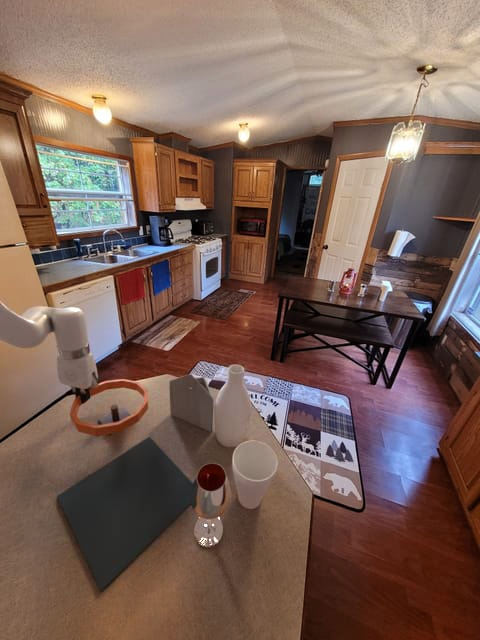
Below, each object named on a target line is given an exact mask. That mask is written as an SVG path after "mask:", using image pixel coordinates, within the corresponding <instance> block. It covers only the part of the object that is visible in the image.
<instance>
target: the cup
mask: <svg viewBox="0 0 480 640" xmlns="http://www.w3.org/2000/svg"><path fill="white" fill-rule="evenodd" d="M231 463H232V465H231V466H232V467H231V468H232V473H233V479H234V482H235V485H236V490H237V499H238V502H239V504H240V505H241V506H242V507H243V508H245V509H248V510H253V509H256V508H258V507H259V506H260V505H261V503H262V500H263V497H264V495H265V494H266V492H267V491H268V489H269V488H270V486H271V484H272V482H273V480H274V479H275V477H276V473H277V470H278V467H279V461H278V456H277V454H276V453H275V451H274V449H272V447H271V446H269V444H267V443H265V442H263V441H259V440H254V439H251V440H246V441H243V442H242V443H241V444H240V445H238V446H236V448H234V451H233V453H232V461H231Z"/></svg>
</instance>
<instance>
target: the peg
mask: <svg viewBox="0 0 480 640" xmlns="http://www.w3.org/2000/svg"><path fill="white" fill-rule="evenodd" d="M130 415H131V414H130V412H128V411H127V410H126V409H125V407H123V406H120V407H119V406H118V404H112V405H111V406H110V412H109V413H106V414H105V415H103V416H101V417H99V418H97V421H98V423H99V425H103V424H109V423H116V422H119V421H121V420H123V419H125V418H127V417H128V416H130ZM108 436H112V434H108Z"/></svg>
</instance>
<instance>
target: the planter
mask: <svg viewBox="0 0 480 640" xmlns="http://www.w3.org/2000/svg"><path fill="white" fill-rule="evenodd" d="M168 388H169V408H170V411H169V412H170V415H171V416H173V417H175V418H178V419H180V420H183V421H184V422H187V423H189V424H191V425H193V426H196V427H198V428H200V429H202V430H205V431H207V432H209V433H213V425H214V424H213V423H214V406H215V397H214V395H213V393H212V390H211V388H210V385H209V384H208V381H207V379H206V377H205V376H200V377H199V376H198V377H195V376H194V375H193V374H191V373H189V374H185V375H182V376H179V377H177V378H174V379H171V380H169V387H168Z"/></svg>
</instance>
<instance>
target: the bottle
mask: <svg viewBox="0 0 480 640" xmlns="http://www.w3.org/2000/svg"><path fill="white" fill-rule="evenodd" d="M244 373H245V368H244V367H243V365H241V364H237V363H236V364H231V365H229V366H228V368H227V381H226V382H225V383H224V384H223V386H222V387H221V388H220V390H219V392H218V394H217V397H216V399H215V401H214V406H213V423H214V424H213V425H214V430H215V431H214V432H215V437H216V440H217V442H218V443H219V444H220V445H222V446H223V447H226V448H235V447H237V446H238V445H240V444H241V443H243V442H245V438H246V435H247V432H248V429H249V425H250V421H251V416H252V401H251V397H250V393H249V390H248V389H247V387H246V386H245V385H246V384H244Z"/></svg>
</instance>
